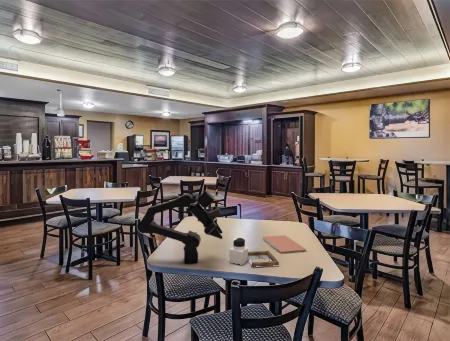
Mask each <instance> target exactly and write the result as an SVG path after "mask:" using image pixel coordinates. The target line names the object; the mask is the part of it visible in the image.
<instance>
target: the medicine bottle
mask: <svg viewBox="0 0 450 341" xmlns="http://www.w3.org/2000/svg"><path fill="white" fill-rule="evenodd" d="M245 243H246V240H245V239H244V238H243V237H235V238H233V240H232V247H230V248H229V254H228V258H229V259H228V260H229V261H228V263H230V262H231V263H230V264H233V263H235V264H234V265H237V264H240V265H239V266H242V264H243V265H244V264H246V263H247V262H248V252H249V247H247V246H246V244H245ZM246 261H247V262H246Z"/></svg>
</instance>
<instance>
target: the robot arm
mask: <svg viewBox="0 0 450 341" xmlns="http://www.w3.org/2000/svg"><path fill="white" fill-rule="evenodd" d="M215 201H216V199H215V197H214V196H213V194H211V193H210V192H208V191H207V190H204V191H203V192H202V193H201V194H200V195H199V196H197V195H196V196H195V195H193V194H191V193H188V192H187V193H184V194H182V195H181V196H179V197H176V198H175V199H172V200H168V201H166V202H163V203H159V204H155V205H152V206H149V207H148V208H147V209H146V212H145V214H144V216H143V217H142V219H141V220H140V221H139V222H138V223H137V226H136V227H137V228H136V229H137V231H138V232H139V233H143V234H156V235H159V236H162V237H165V238H168V239H172V240H175V241H178V242H181V243H182V244H183V245H184V246H183V248H182V249H183V251H184V252H183V263H184V264H185V265H187V264H189V263H190V264H197V263H198V261H199V251H198V247H199V246H200V243H201V241H202V238H201V235H200V234H198V233H197V232H194V231H192V230H188V232H182V231H180V230H176V229H173V228H169V227H166V226H162V225H160V224H158V223H156V222H155V220H154V218H155V215H156V214H159V213H162V212H166V211H169V210H171V209H172V210H173V209H176V208H185V214H186V215H189V213H191V214H192V215H193V216H194V217H195V218H196V220H197V222H200V223H201V224H202V226H203V228H204V229H203V232H204V233H205V235H207V236H211V237H214V238H217V239H220V240H222V239H223V238H224V237H223V235H222V234H223V232H224V231H222V229H221V227H220V225H219V223H218V218H217V217H220V216H221V215H222V212H221V210H220V207H217V206H216V205H215V206H212V210H210V211H209V210H206V209H205V208H209V206H210V205H211V204H212V203H213V202H215ZM190 264H189V265H190Z"/></svg>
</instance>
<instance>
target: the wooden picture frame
mask: <svg viewBox="0 0 450 341" xmlns="http://www.w3.org/2000/svg"><path fill="white" fill-rule="evenodd" d="M257 257H258V258H257ZM260 258H261V259H264V260H266V259H269V261H268V262H252V265H250V266H251V268H252V267H255V268H257V267H256V266H272V267H274V266H273V265H279V266H280V262H279V260H277V258H276V257H275V256H274V255H273V254H272V253H271V252H270V250H259V251H257V250H256V251H255V250H254V251H253V250H252V251H248V261H249V260H250V259H251V260H252V261H253V260H254V259H255V260H256V259H260ZM270 259H271V260H272V261H270ZM248 261H247V262H248Z"/></svg>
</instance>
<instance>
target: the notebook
mask: <svg viewBox="0 0 450 341" xmlns="http://www.w3.org/2000/svg"><path fill="white" fill-rule="evenodd" d="M261 240H262V241H263V242H265V243H266V244H267V245H268V246H269V247H271V248H272V249H273V250H276V252H277V253H279V254H289V253H304V252H303V251H305V252H307V248H305V247H304V246H302V245H300V244H299V243H297V241H295V240H293V239H292V238H290V237H289V236H287V235H286V234H283V235H270V236H269V235H268V236H262V239H261Z"/></svg>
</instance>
